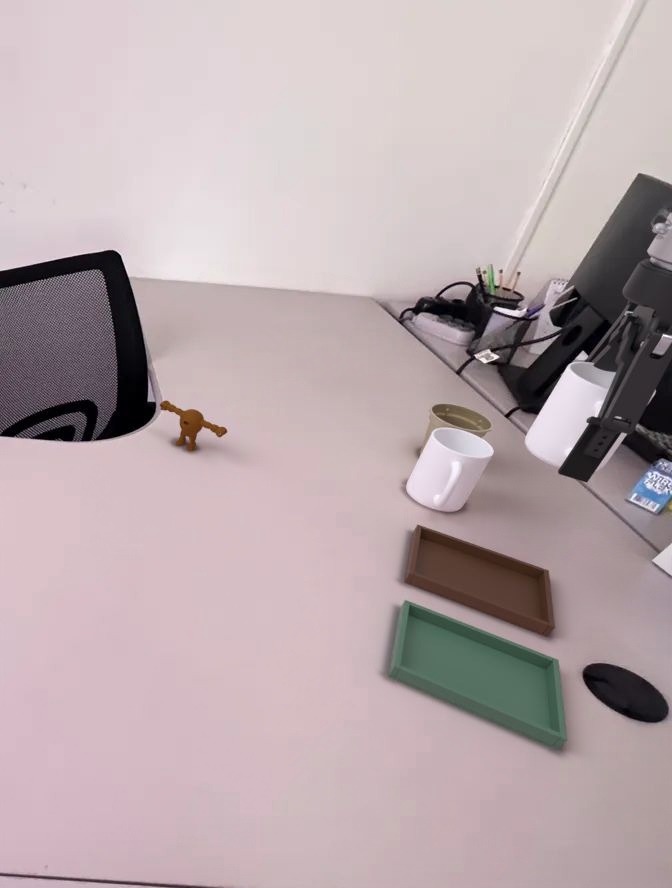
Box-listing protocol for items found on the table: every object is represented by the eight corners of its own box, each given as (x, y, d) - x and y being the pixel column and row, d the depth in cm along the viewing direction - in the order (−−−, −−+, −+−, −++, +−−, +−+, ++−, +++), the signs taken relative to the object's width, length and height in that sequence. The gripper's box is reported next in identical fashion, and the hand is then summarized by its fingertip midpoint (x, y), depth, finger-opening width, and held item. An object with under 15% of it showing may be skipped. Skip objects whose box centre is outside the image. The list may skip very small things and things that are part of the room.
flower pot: (396, 448, 116) (417, 404, 111) (438, 443, 119) (460, 400, 114) (437, 479, 109) (462, 433, 104) (481, 473, 112) (507, 428, 107)
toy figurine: (148, 436, 112) (156, 400, 108) (161, 428, 114) (169, 393, 111) (210, 467, 106) (221, 430, 102) (222, 459, 108) (233, 422, 104)
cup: (462, 493, 106) (492, 438, 100) (462, 533, 97) (496, 476, 91) (405, 475, 109) (432, 421, 103) (401, 513, 100) (430, 456, 94)
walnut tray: (541, 581, 90) (548, 570, 89) (546, 639, 81) (555, 627, 80) (411, 535, 96) (417, 524, 95) (403, 584, 87) (409, 572, 86)
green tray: (549, 671, 77) (558, 659, 76) (556, 752, 68) (567, 740, 67) (398, 611, 83) (405, 599, 82) (387, 677, 74) (394, 666, 73)
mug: (606, 499, 73) (666, 417, 67) (520, 471, 76) (570, 390, 70) (599, 453, 82) (651, 376, 76) (522, 430, 85) (566, 355, 79)
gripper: (626, 234, 76) (528, 402, 88) (664, 288, 58) (535, 488, 71) (707, 250, 73) (594, 421, 86) (774, 311, 56) (619, 515, 68)
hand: (567, 452), depth 78 cm, fingers closed on mug, 12 cm apart
